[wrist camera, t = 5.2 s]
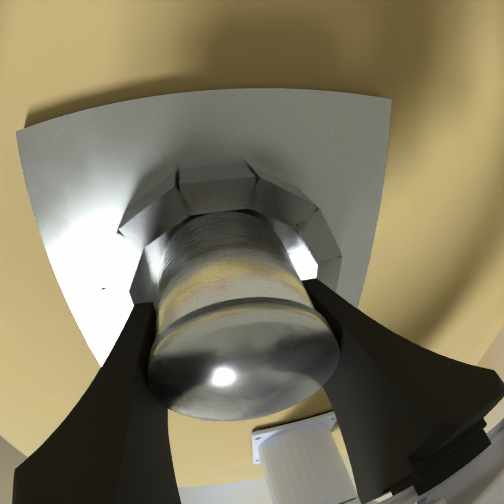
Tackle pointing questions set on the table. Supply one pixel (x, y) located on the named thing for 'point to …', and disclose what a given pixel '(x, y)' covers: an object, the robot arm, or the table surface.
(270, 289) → the round metal knob
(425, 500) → the robot arm
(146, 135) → the flange plate
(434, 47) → the table surface
